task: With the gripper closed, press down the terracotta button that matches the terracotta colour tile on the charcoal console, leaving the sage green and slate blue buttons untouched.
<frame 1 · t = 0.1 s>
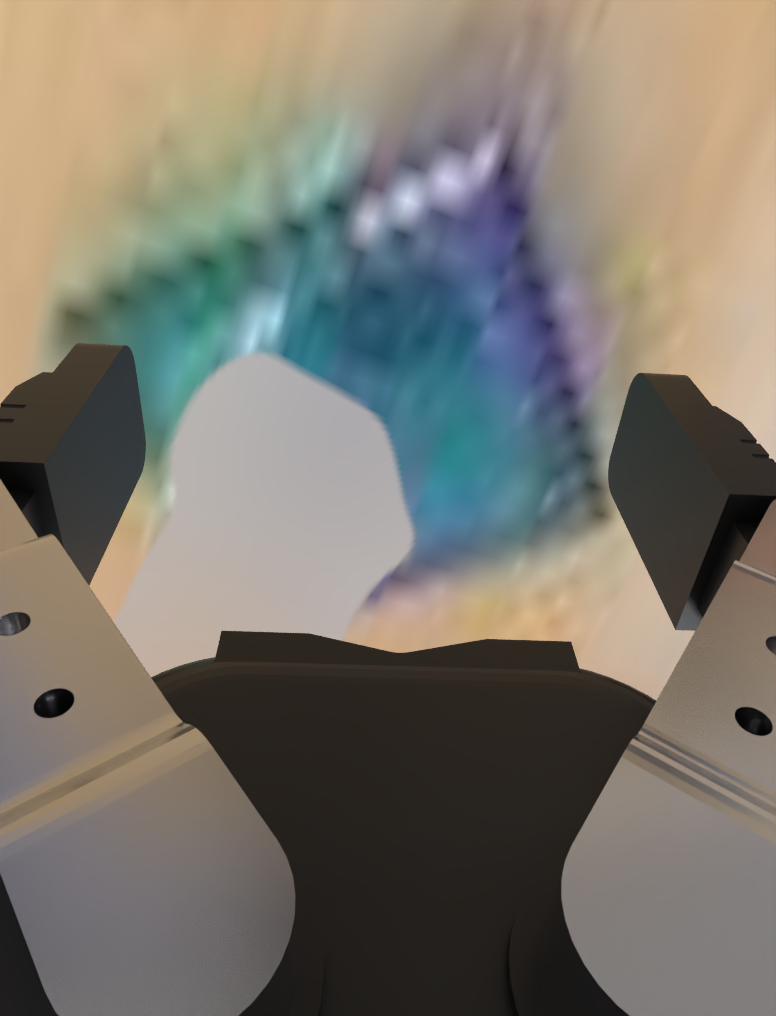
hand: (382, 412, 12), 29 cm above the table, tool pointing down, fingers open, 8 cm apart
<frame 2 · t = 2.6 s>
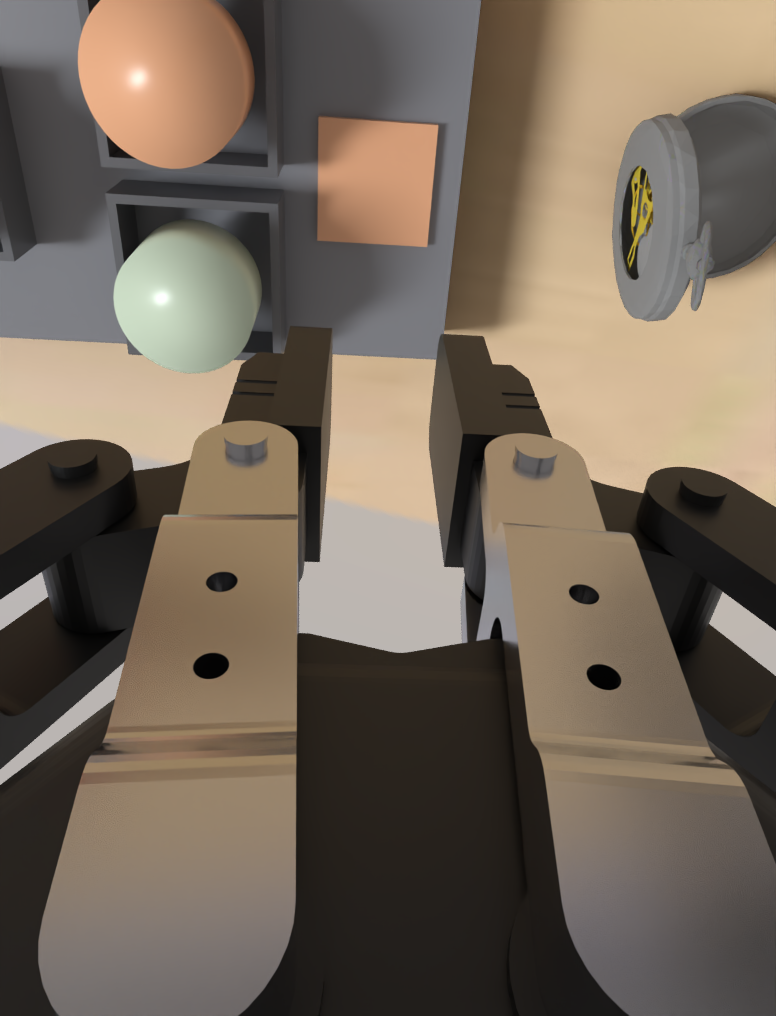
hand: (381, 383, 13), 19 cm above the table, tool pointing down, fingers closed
console: (164, 152, 28), on the table
sage button: (191, 297, 25), point 6 cm above the table, slide at 0.0 cm
terracotta button: (171, 76, 21), point 7 cm above the table, slide at 0.0 cm
pocket watch: (677, 184, 29), on the table
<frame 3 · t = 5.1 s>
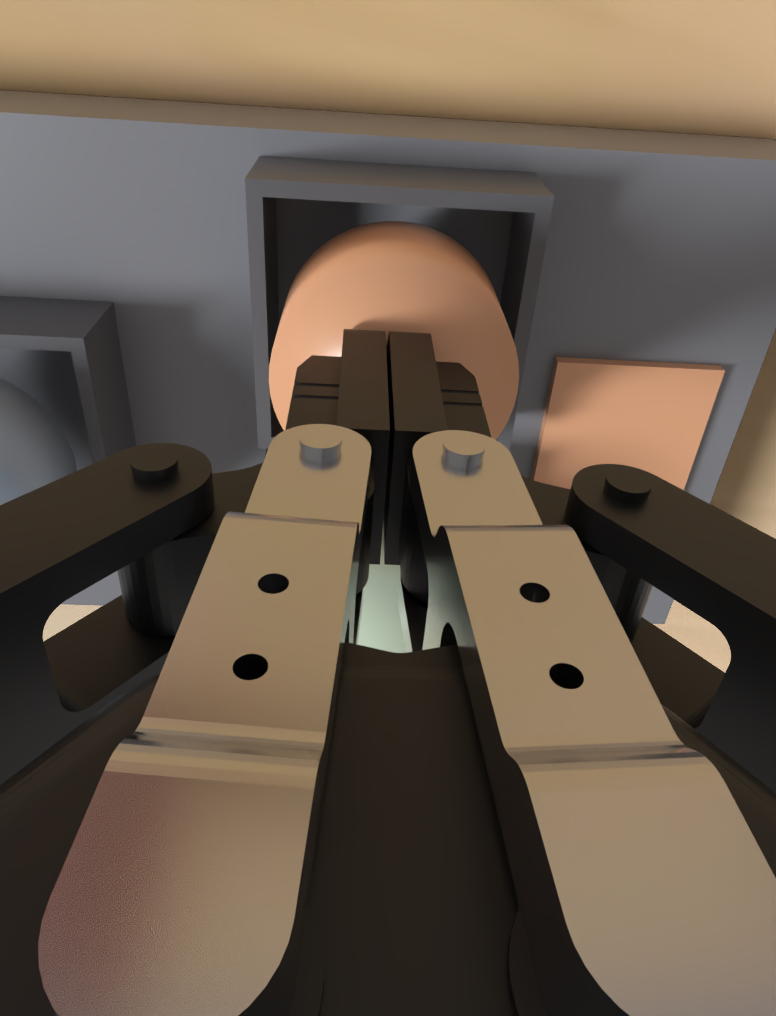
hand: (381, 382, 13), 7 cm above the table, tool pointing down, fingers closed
console: (310, 369, 21), on the table
sage button: (376, 614, 18), point 6 cm above the table, slide at 0.0 cm
terracotta button: (392, 358, 14), point 6 cm above the table, slide at 0.3 cm, touching gripper
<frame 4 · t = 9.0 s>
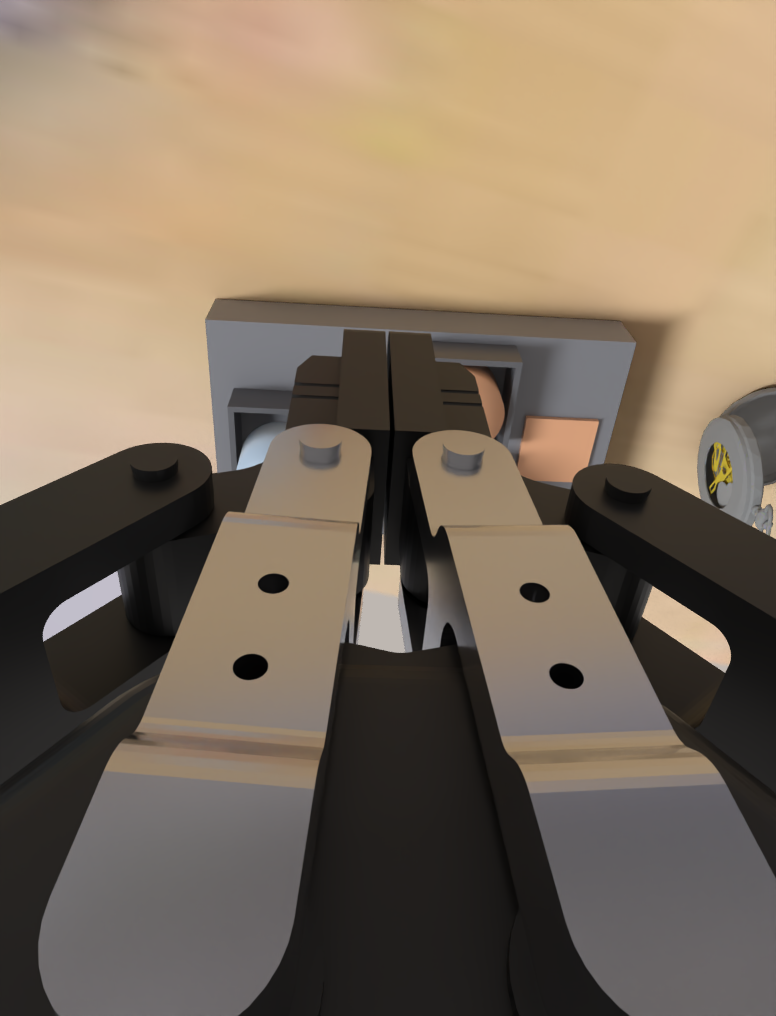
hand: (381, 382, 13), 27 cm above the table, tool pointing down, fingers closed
console: (411, 416, 44), on the table
terracotta button: (458, 405, 38), point 5 cm above the table, slide at 2.0 cm
slate button: (281, 470, 38), point 7 cm above the table, slide at 0.0 cm
pocket watch: (739, 430, 45), on the table
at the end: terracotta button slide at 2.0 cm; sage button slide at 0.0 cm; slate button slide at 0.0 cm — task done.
